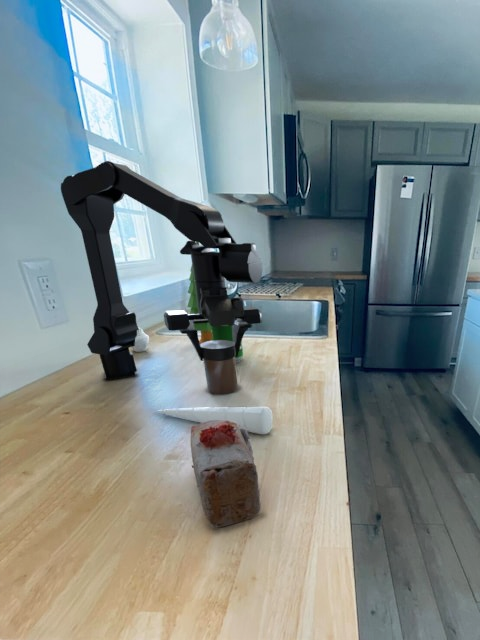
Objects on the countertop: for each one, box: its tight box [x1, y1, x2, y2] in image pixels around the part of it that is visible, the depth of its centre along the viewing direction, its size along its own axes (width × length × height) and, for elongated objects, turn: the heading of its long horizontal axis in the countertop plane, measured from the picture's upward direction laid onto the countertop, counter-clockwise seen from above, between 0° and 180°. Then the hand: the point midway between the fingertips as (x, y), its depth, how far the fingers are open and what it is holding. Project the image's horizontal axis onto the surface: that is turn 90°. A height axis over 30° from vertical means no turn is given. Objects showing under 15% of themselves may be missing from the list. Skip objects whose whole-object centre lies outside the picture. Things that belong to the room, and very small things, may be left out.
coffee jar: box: [203, 357, 239, 395], centre depth 80 cm, size 7×7×10 cm
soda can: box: [211, 325, 244, 364], centre depth 98 cm, size 8×8×12 cm
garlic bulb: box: [130, 326, 150, 353], centre depth 106 cm, size 6×6×7 cm
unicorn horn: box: [156, 406, 274, 435], centre depth 67 cm, size 5×24×5 cm, turn 69°
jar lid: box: [200, 340, 236, 360], centre depth 78 cm, size 7×7×2 cm
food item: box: [190, 420, 261, 529], centre depth 47 cm, size 14×8×10 cm, turn 24°
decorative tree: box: [186, 242, 213, 344], centre depth 108 cm, size 10×9×30 cm
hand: (219, 358), depth 79 cm, fingers closed on jar lid, 7 cm apart
